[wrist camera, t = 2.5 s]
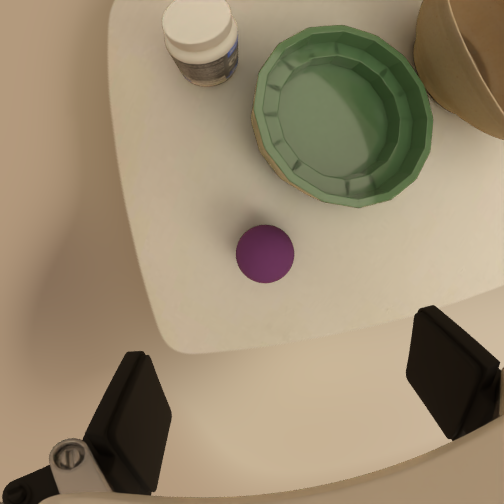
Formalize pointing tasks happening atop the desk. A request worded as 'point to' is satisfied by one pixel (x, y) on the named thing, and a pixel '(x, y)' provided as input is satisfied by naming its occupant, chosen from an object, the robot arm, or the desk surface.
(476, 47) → the planter bowl
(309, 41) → the bowl
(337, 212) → the desk surface
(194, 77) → the pill bottle
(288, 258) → the ball
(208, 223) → the desk surface
